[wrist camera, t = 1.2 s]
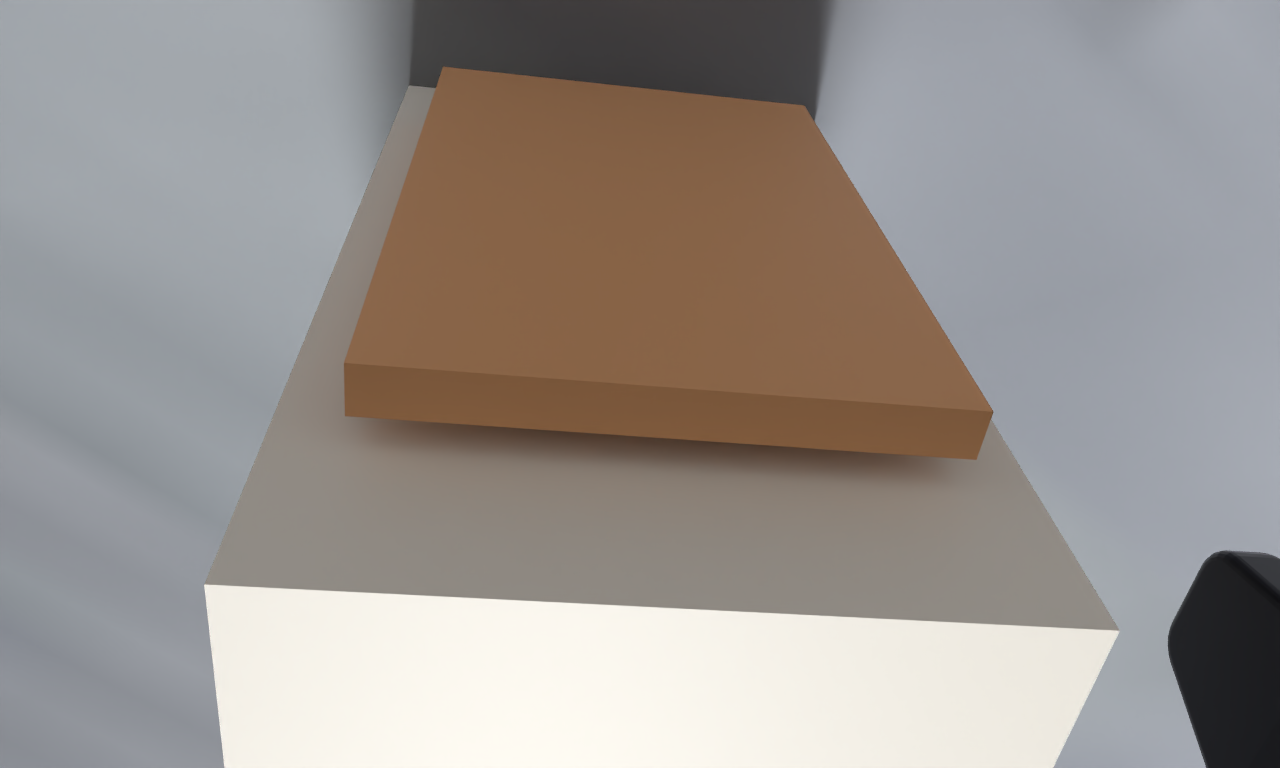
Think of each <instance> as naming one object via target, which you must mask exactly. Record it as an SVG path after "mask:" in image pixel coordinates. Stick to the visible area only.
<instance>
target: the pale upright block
mask: <svg viewBox="0 0 1280 768" xmlns="http://www.w3.org/2000/svg"><path fill="white" fill-rule="evenodd" d="M992 415H993V410H992V408H991V407H990V405H989V404H988V402H987V400H986V399H985V397H984V395H983V394H982V392H981V391H980V389H979V387H978V386H977V384H976V382H975V381H974V379H973V378H972V376H971V374H970V373H969V371H968V370H967V368H966V366H965V365H964V363H963V361H962V360H961V358H960V357H959V355H958V353H957V352H956V350H955V349H954V347H953V345H952V344H951V342H950V340H949V339H948V337H947V336H946V334H945V332H944V331H943V329H942V327H941V326H940V324H939V323H938V321H937V319H936V318H935V316H934V315H933V313H932V311H931V310H930V308H929V306H928V305H927V303H926V302H925V300H924V298H923V297H922V295H921V294H920V292H919V290H918V289H917V287H916V285H915V284H914V282H913V281H912V279H911V277H910V276H909V274H908V272H907V271H906V269H905V268H904V266H903V264H902V263H901V261H900V260H899V258H898V256H897V255H896V253H895V251H894V250H893V248H892V247H891V245H890V243H889V242H888V240H887V239H886V237H885V235H884V234H883V232H882V230H881V229H880V227H879V226H878V224H877V222H876V221H875V219H874V217H873V216H872V214H871V213H870V211H869V209H868V208H867V206H866V205H865V203H864V201H863V200H862V198H861V196H860V195H859V193H858V192H857V190H856V188H855V187H854V185H853V184H852V182H851V180H850V179H849V177H848V175H847V174H846V172H845V171H844V169H843V167H842V166H841V164H840V162H839V161H838V159H837V158H836V156H835V154H834V153H833V151H832V150H831V148H830V146H829V145H828V143H827V141H826V140H825V138H824V137H823V135H822V133H821V132H820V130H819V128H818V127H817V125H816V124H815V122H814V120H813V119H812V117H811V116H810V114H809V112H808V111H807V109H806V107H805V106H804V105H794V104H785V103H776V102H767V101H757V100H748V99H739V98H730V97H720V96H711V95H702V94H693V93H683V92H674V91H665V90H656V89H646V88H637V87H628V86H618V85H609V84H600V83H591V82H581V81H572V80H563V79H554V78H544V77H535V76H526V75H517V74H507V73H498V72H489V71H480V70H470V69H461V68H452V67H443V68H442V71H441V74H440V77H439V80H438V83H437V86H436V88H430V87H421V86H411V85H409V86H408V89H407V91H406V94H405V96H404V98H403V101H402V103H401V106H400V108H399V111H398V113H397V115H396V118H395V120H394V123H393V125H392V128H391V130H390V133H389V135H388V137H387V140H386V142H385V145H384V147H383V150H382V152H381V155H380V157H379V159H378V162H377V164H376V167H375V169H374V172H373V174H372V176H371V179H370V181H369V184H368V186H367V189H366V191H365V194H364V196H363V198H362V201H361V203H360V206H359V208H358V211H357V213H356V216H355V218H354V220H353V223H352V225H351V228H350V230H349V233H348V235H347V238H346V240H345V242H344V245H343V247H342V250H341V252H340V255H339V257H338V259H337V262H336V264H335V267H334V269H333V272H332V274H331V277H330V279H329V281H328V284H327V286H326V289H325V291H324V294H323V296H322V299H321V301H320V303H319V306H318V308H317V311H316V313H315V316H314V318H313V320H312V323H311V325H310V328H309V330H308V333H307V335H306V338H305V340H304V342H303V345H302V347H301V350H300V352H299V355H298V357H297V360H296V362H295V364H294V367H293V369H292V372H291V374H290V377H289V379H288V382H287V384H286V386H285V389H284V391H283V394H282V396H281V399H280V401H279V403H278V406H277V408H276V411H275V413H274V416H273V418H272V421H271V423H270V425H269V428H268V430H267V433H266V435H265V438H264V440H263V443H262V445H261V447H260V450H259V452H258V455H257V457H256V460H255V462H254V464H253V467H252V469H251V472H250V474H249V477H248V479H247V482H246V484H245V486H244V489H243V491H242V494H241V496H240V499H239V501H238V504H237V506H236V508H235V511H234V513H233V516H232V518H231V521H230V523H229V525H228V528H227V530H226V533H225V535H224V538H223V540H222V543H221V545H220V547H219V550H218V552H217V555H216V557H215V560H214V562H213V565H212V567H211V569H210V572H209V574H208V577H207V579H206V582H205V584H204V586H205V595H206V604H207V613H208V622H209V631H210V640H211V649H212V658H213V667H214V676H215V685H216V694H217V703H218V712H219V721H220V730H221V739H222V748H223V757H224V766H225V768H1053V767H1054V765H1055V763H1056V760H1057V758H1058V756H1059V754H1060V752H1061V750H1062V748H1063V746H1064V744H1065V742H1066V740H1067V738H1068V736H1069V734H1070V732H1071V730H1072V728H1073V726H1074V724H1075V722H1076V719H1077V717H1078V715H1079V713H1080V711H1081V709H1082V707H1083V705H1084V703H1085V701H1086V699H1087V697H1088V695H1089V693H1090V691H1091V689H1092V687H1093V685H1094V683H1095V681H1096V678H1097V676H1098V674H1099V672H1100V670H1101V668H1102V666H1103V664H1104V662H1105V660H1106V658H1107V656H1108V654H1109V652H1110V650H1111V648H1112V646H1113V644H1114V642H1115V639H1116V637H1117V635H1118V633H1119V631H1120V630H1119V629H1118V627H1117V626H1116V624H1115V622H1114V621H1113V619H1112V617H1111V616H1110V614H1109V612H1108V611H1107V609H1106V607H1105V606H1104V604H1103V602H1102V601H1101V599H1100V598H1099V596H1098V594H1097V593H1096V591H1095V589H1094V588H1093V586H1092V584H1091V583H1090V581H1089V579H1088V578H1087V576H1086V575H1085V573H1084V571H1083V570H1082V568H1081V566H1080V565H1079V563H1078V561H1077V560H1076V558H1075V556H1074V555H1073V553H1072V551H1071V550H1070V548H1069V547H1068V545H1067V543H1066V542H1065V540H1064V538H1063V537H1062V535H1061V533H1060V532H1059V530H1058V528H1057V527H1056V525H1055V524H1054V522H1053V520H1052V519H1051V517H1050V515H1049V514H1048V512H1047V510H1046V509H1045V507H1044V505H1043V504H1042V502H1041V501H1040V499H1039V497H1038V496H1037V494H1036V492H1035V491H1034V489H1033V487H1032V486H1031V484H1030V482H1029V481H1028V479H1027V477H1026V476H1025V474H1024V473H1023V471H1022V469H1021V468H1020V466H1019V464H1018V463H1017V461H1016V459H1015V458H1014V456H1013V454H1012V453H1011V451H1010V450H1009V448H1008V446H1007V445H1006V443H1005V441H1004V440H1003V438H1002V436H1001V435H1000V433H999V431H998V430H997V428H996V427H995V425H994V423H993V422H992V420H991V417H992Z"/></svg>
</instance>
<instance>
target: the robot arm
mask: <svg viewBox="0 0 1280 768" xmlns="http://www.w3.org/2000/svg"><path fill="white" fill-rule="evenodd" d="M1168 651H1169V658H1170V662H1171V665H1172V668H1173V671H1174V674H1175V677H1176V679H1177V682H1178V685H1179V688H1180V691H1181V694H1182V697H1183V700H1184V703H1185V706H1186V709H1187V712H1188V715H1189V718H1190V721H1191V724H1192V727H1193V730H1194V733H1195V736H1196V738H1197V741H1198V744H1199V747H1200V750H1201V753H1202V756H1203V759H1204V762H1205V765H1206V768H1280V559H1279V558H1277V557H1275V556H1273V555H1270V554H1266V553H1259V552H1242V551H1226V550H1225V551H1220V552H1216V553H1214V554H1212V555H1211V556H1210V557H1209V558H1207V559H1206V560H1205V562H1204V563H1203V565H1202V566H1201V568H1200V570H1199V572H1198V574H1197V576H1196V578H1195V580H1194V582H1193V584H1192V585H1191V587H1190V589H1189V591H1188V593H1187V595H1186V597H1185V599H1184V601H1183V603H1182V605H1181V607H1180V609H1179V611H1178V612H1177V614H1176V616H1175V618H1174V620H1173V622H1172V625H1171V627H1170V631H1169V635H1168Z"/></svg>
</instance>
